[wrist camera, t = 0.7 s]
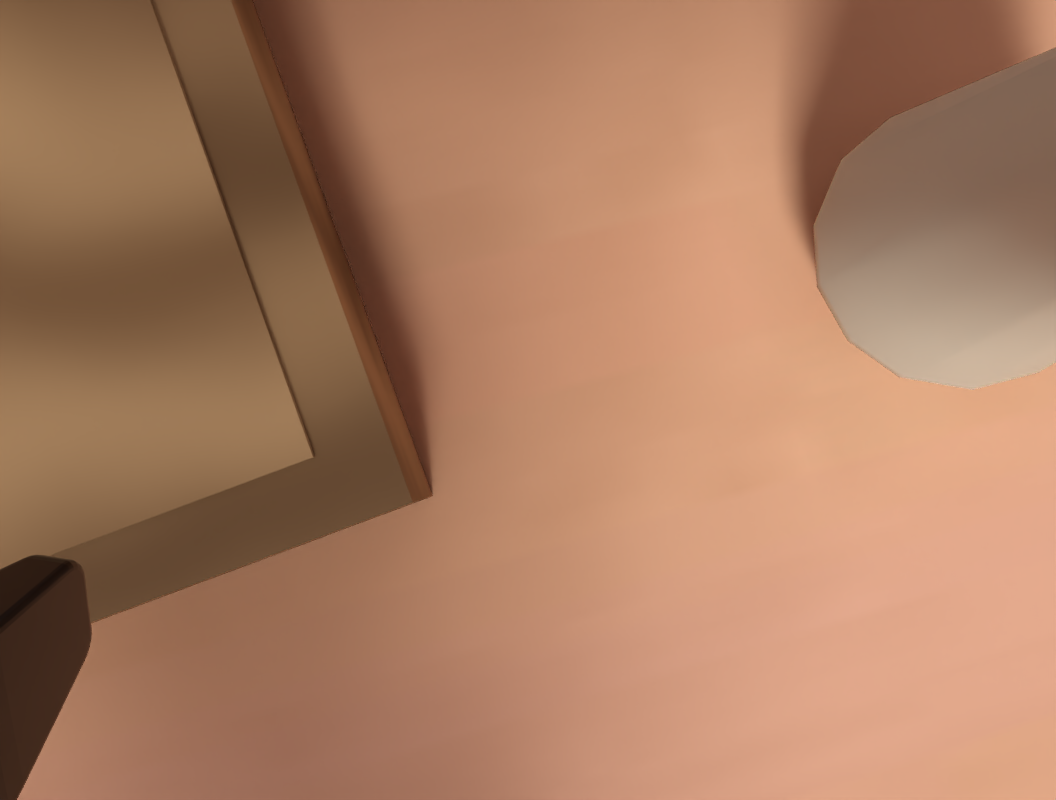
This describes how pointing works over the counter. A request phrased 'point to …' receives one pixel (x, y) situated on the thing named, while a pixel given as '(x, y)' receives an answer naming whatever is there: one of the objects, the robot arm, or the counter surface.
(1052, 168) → the salt shaker
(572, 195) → the counter surface
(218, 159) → the base board
